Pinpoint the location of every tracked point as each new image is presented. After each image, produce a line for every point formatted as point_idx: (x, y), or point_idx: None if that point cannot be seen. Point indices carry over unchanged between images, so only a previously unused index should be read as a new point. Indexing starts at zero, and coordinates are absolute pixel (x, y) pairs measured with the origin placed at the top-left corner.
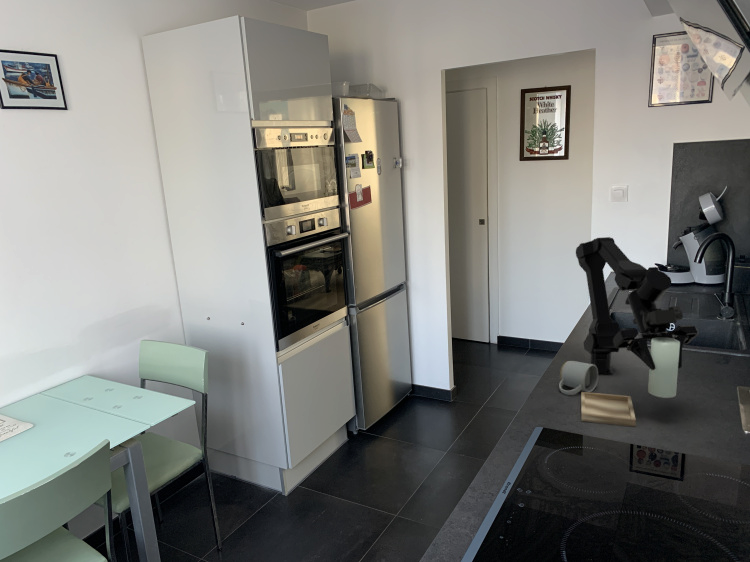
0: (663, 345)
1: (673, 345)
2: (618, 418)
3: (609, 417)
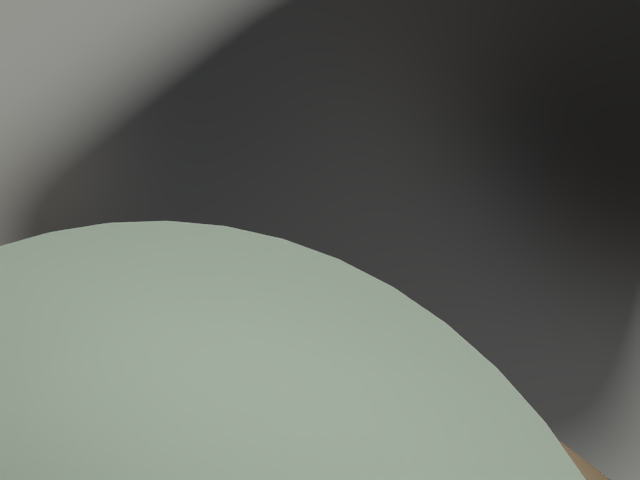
0: (522, 420)
1: (255, 233)
2: (562, 443)
3: (603, 476)
